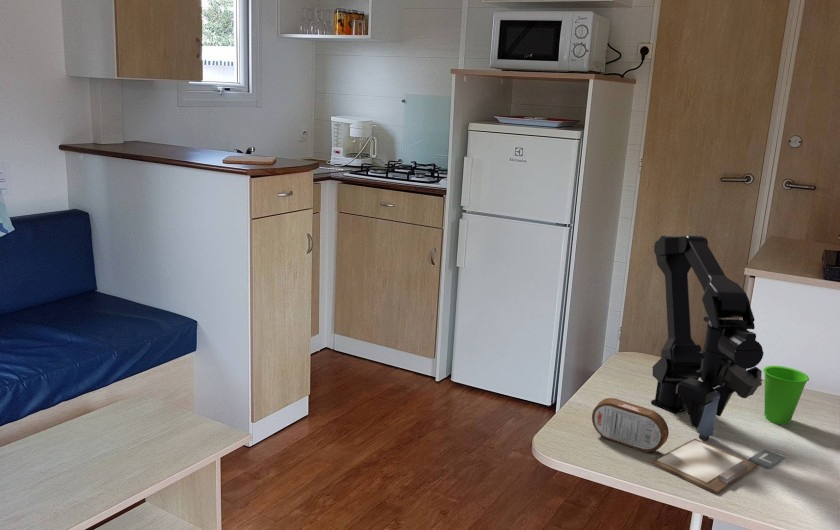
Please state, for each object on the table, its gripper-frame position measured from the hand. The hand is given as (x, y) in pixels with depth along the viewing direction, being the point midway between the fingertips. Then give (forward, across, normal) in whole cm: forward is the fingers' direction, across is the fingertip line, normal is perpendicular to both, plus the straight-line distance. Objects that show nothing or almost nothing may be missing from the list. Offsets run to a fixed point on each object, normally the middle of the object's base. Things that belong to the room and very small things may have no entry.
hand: (706, 421), depth 147 cm
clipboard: (+4, -11, -6) cm, 13 cm away
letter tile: (+4, +2, -12) cm, 13 cm away
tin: (+4, -16, +8) cm, 18 cm away
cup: (+4, +23, -5) cm, 24 cm away
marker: (+4, 0, 0) cm, 4 cm away
